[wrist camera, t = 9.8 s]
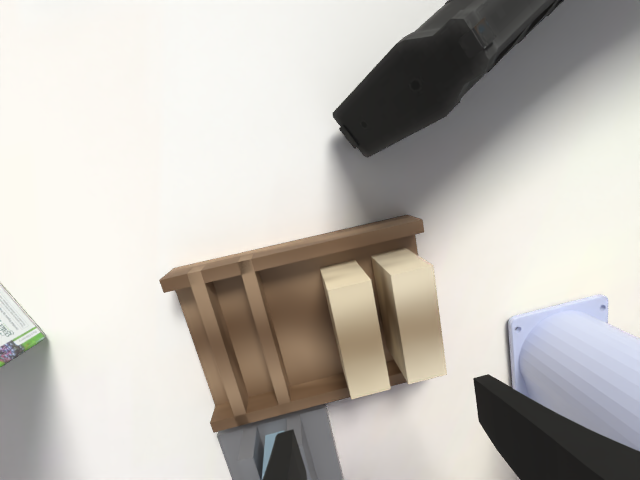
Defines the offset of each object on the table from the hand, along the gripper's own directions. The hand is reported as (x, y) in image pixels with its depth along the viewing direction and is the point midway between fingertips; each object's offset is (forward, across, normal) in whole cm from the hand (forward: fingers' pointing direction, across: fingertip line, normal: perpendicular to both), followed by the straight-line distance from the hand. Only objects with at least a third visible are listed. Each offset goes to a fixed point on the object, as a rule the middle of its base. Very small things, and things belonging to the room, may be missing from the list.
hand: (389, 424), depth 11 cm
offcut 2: (+10, -4, 0) cm, 10 cm away
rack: (+10, +2, 0) cm, 11 cm away
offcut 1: (+10, 0, 0) cm, 10 cm away
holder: (+10, +7, +12) cm, 17 cm away
